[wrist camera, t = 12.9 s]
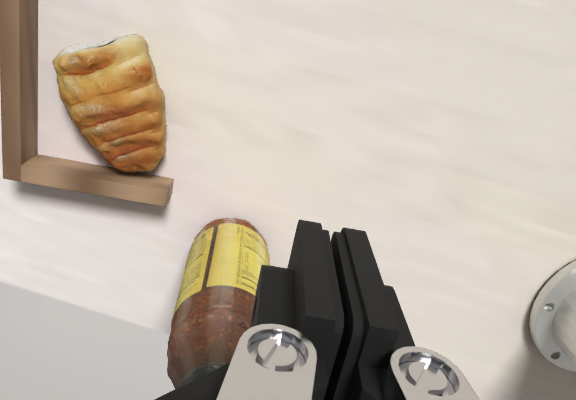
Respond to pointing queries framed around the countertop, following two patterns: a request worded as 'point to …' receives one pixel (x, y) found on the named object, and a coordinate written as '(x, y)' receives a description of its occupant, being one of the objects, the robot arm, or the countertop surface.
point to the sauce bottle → (215, 298)
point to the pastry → (115, 100)
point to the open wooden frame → (23, 123)
